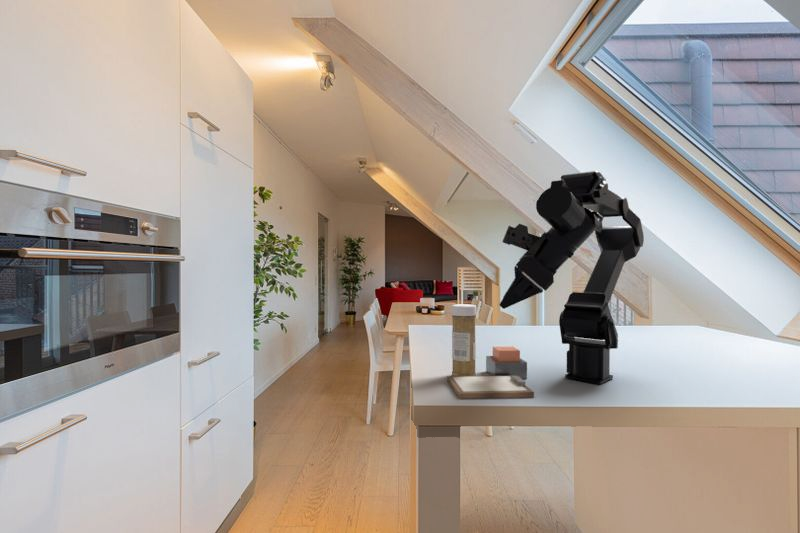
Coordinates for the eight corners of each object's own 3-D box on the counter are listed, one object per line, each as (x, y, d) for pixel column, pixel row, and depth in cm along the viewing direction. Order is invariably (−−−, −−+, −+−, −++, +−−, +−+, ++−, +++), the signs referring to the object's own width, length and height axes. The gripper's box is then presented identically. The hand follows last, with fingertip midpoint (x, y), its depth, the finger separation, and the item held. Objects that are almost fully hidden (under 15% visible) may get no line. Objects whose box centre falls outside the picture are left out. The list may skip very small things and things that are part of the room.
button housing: (515, 370, 88) (516, 355, 88) (526, 378, 82) (527, 362, 82) (486, 371, 88) (486, 355, 88) (495, 379, 82) (495, 362, 82)
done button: (512, 361, 87) (512, 346, 87) (519, 366, 83) (519, 350, 83) (492, 362, 87) (492, 346, 87) (498, 366, 83) (498, 350, 83)
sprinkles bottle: (480, 376, 84) (481, 304, 84) (465, 380, 81) (466, 306, 80) (461, 372, 87) (461, 303, 87) (446, 376, 84) (446, 304, 84)
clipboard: (512, 379, 81) (512, 371, 81) (533, 397, 71) (534, 387, 71) (447, 380, 80) (447, 372, 80) (459, 398, 70) (459, 388, 70)
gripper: (529, 210, 88) (476, 269, 92) (527, 205, 70) (461, 278, 74) (574, 248, 86) (518, 306, 90) (583, 251, 68) (513, 324, 72)
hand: (503, 302), depth 82 cm, fingers open, 9 cm apart
